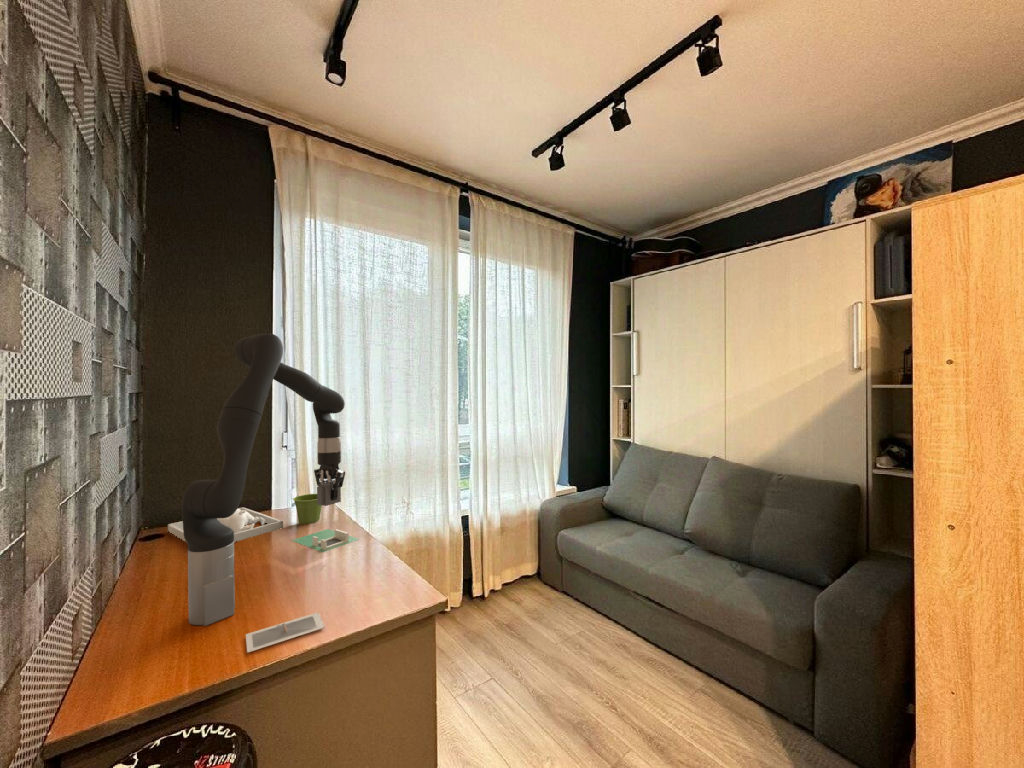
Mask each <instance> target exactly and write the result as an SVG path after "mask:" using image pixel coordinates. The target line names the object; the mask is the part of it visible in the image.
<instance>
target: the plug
mask: <svg viewBox="0 0 1024 768" xmlns="http://www.w3.org/2000/svg"><path fill="white" fill-rule="evenodd" d="M339 483H340V482H339ZM339 483H338V484H339ZM333 484H334V485H335V483H333ZM341 490H342V487H340V488H338V497H337V500H333V501H332V500H331V487H330V484H329V483H328V482H325V483H322V484H318V486H316V494H317V504H318V505H322V507H323V506H324V507H327V506H331V505H333V504H334V505H335V504H338V503H341V502H342V501H341V500H342V497H341V496H342V495H341V494H342V493H341V492H342V491H341Z"/></svg>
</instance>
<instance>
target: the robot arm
mask: <svg viewBox="0 0 1024 768" xmlns="http://www.w3.org/2000/svg"><path fill="white" fill-rule="evenodd" d="M234 354H235V357H236V359H237V360H238V361H239V362H240V363H241V364H242V365H244V366H246V367H247V368H249V369H248V371H247V374H246V375H245V377H244V379H243V380H242V381H241V383H239V384H238V385H237V387H236V388H235V389H234V390H233V391H232V392H231V393H230V395H228V397H227V399H226V400H225V402H224V404H223V405H222V408H221V412H220V414H219V417H218V421H217V424H216V434H217V437H218V441H219V443H220V447H221V450H222V452H223V462H222V463H223V464H222V469H221V472H220V475H219V477H218V479H199V480H195V481H193V482H191V483H190V484H189V485H188V486H187V487H186V489H185V491H184V492H183V495H182V500H181V517H182V521H183V529H182V530H183V533H184V538H185V540H186V542H185V543H186V544H187V580H188V581H187V586H188V587H187V594H188V596H187V597H188V599H187V601H188V603H187V604H188V605H187V606H188V623H189V624H190V625H194V626H204V627H206V626H209V625H212V624H214V623H216V622H219V621H221V620H223V619H227V618H228V617H230V616H233V615H235V609H236V604H235V603H236V601H235V599H236V593H235V591H236V590H235V542H234V532H233V530H232V529H231V528H229V527H227V526H225V525H223V524H222V523H220V522H219V520H218V519H217V518H227V517H230V516H231V515H233V514H234V513H235V511H236V510H237V509H238V508H240V507H239V506H240V504H241V502H242V498H243V495H244V489H245V483H246V478H247V472H248V466H249V461H250V458H251V454H252V450H253V446H254V442H255V439H256V435H257V432H258V430H259V427H260V424H261V419H262V416H263V412H264V409H265V405H266V402H267V400H268V399H267V398H268V396H269V393H270V389H271V386H272V383H273V382H274V381H275V382H277V383H279V384H281V385H283V386H284V387H287V388H288V389H289V390H291V391H292V392H294V393H295V394H296V395H299V396H300V397H301V398H302V399H304V400H305V401H307V402H310V403H312V410H313V414H314V418H315V421H316V423H317V424H316V425H317V435H318V436H317V448H316V449H317V465H318V466H319V468H316V469H314V470H313V472H314V478H315V481H316V487H318V484H322V483H326V482H328V483H329V484H330V487H331V500H332V501H333V500H337V497H338V488H340V487H341V488H342V487H343V485H344V480H345V477H346V471H345V470H343V471H342V470H340V467H339V464H341V462H342V450H341V449H342V447H341V446H342V445H341V443H342V441H341V430H340V429H341V426H340V425H341V424H340V421H338V420H335V419H333V418H332V416H331V415H332V414H339V413H341V412H342V411H343V410H344V408H345V407H346V406H345V404H346V403H345V400H344V397H343V396H342V395H341V394H340V393H339V392H337V391H336V390H333V389H331V388H329V387H327V386H325V385H322V384H321V383H320V382H319V380H318V381H317V380H316V379H315V378H314V377H313V376H311V375H309V373H306V372H304V371H303V370H300V369H297V368H294V367H292V366H290V365H287V364H285V363H283V362H282V359H283V356H284V346H283V341H282V340H281V339H280V337H279V336H278V335H276V334H274V333H259V334H254V335H249V336H245V337H242V338H240V339H239V340H237V341H236V343H235V345H234ZM273 380H274V381H273ZM339 482H340V483H339ZM333 483H335V485H334V484H333ZM338 483H339V484H338Z"/></svg>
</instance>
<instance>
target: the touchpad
mask: <svg viewBox="0 0 1024 768" xmlns="http://www.w3.org/2000/svg"><path fill="white" fill-rule="evenodd" d="M324 628H325V629H326V626H325V624H324V622H323V619H322V617H321V615H320V612H319V611H318V612H313V613H311V614H308V615H304V616H301V617H298V618H294V619H292V620H288V621H284V622H282V623H278V624H275V625H271V626H269V627H265V628H262V629H258V630H255V631H251V632H248V633H246V634H245V642H246V643H245V644H246V653H251V652H254V651H257V650H259V649H264V648H266V647H270V646H272V645H275V644H276V645H277V644H278V643H281V642H284V641H287V640H291V639H294V638H296V637H299V636H303V635H306V634H309V633H311V632H315V631H319V630H322V629H324Z"/></svg>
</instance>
